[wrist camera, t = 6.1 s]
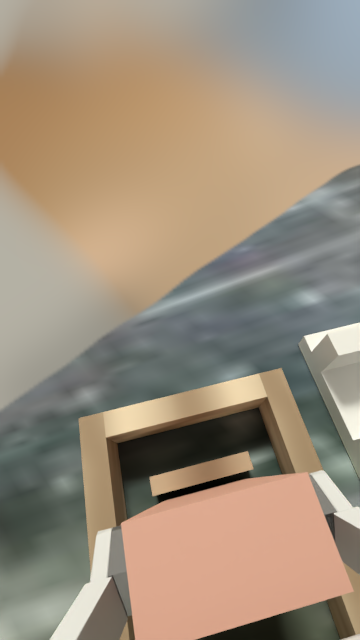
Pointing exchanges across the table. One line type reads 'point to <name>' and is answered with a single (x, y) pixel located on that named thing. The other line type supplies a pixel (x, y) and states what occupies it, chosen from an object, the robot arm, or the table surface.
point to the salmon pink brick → (229, 557)
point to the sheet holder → (338, 380)
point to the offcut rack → (189, 408)
